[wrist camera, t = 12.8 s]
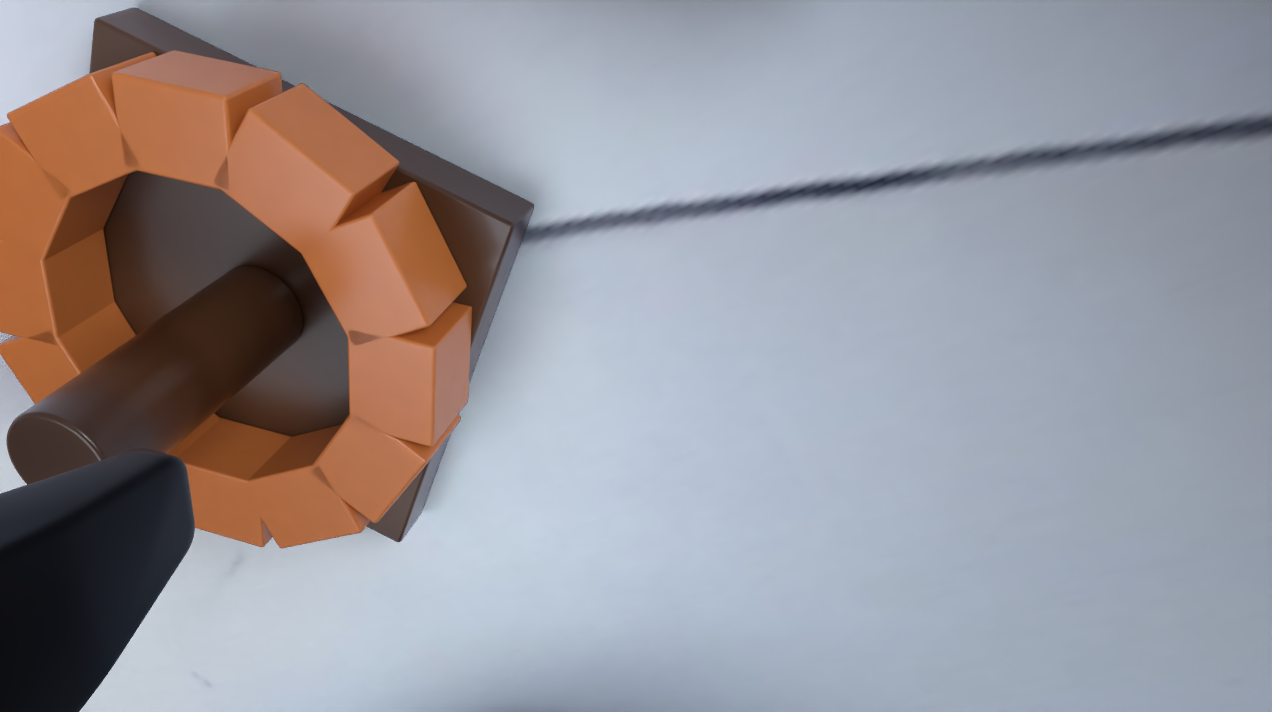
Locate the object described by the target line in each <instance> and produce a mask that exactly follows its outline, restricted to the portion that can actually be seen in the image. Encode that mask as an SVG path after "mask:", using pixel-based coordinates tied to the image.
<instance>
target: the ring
mask: <svg viewBox="0 0 1272 712" xmlns="http://www.w3.org/2000/svg"><path fill="white" fill-rule="evenodd" d="M7 118H8V119H9V121H10V122H9V123H7V124H4V125H1V126H0V332H3V333H6V334H10V335H13V336H11V337H10V338H8V339H6V340H5V341H3V342H1V343H0V354H1V356H2V357H3V359H4V360H5V362H6V363H7V365H8V366H9V367H10V369H11V370H12V372H13V373H14V375H15V376H16V377H17V379H18V380H19V382H20V383H21V385H22V386H23V388H24V389H25V390H26V392H27V393H28V395H29V396H30V398H31V399H32V400H33V402H34V403H35V404H37V403H38V402H40V401H41V400H43V399H44V398H45V397H47V396H48V395H50V394H51V393H53V392H54V391H56V390H57V389H59V388H60V387H61V386H63V385H64V384H66V383H67V382H69V381H70V380H72V379H73V378H75V377H76V376H77V375H79V374H80V373H82V372H83V371H85V370H86V369H88V368H89V367H90V366H92V365H93V364H95V363H96V362H98V361H99V360H101V359H102V358H104V357H105V356H106V355H108V354H109V353H111V352H112V351H114V350H115V349H117V348H118V347H120V346H121V345H122V344H124V343H125V342H127V341H128V340H130V339H131V338H133V337H134V336H135V335H136V334H135V332H134V331H133V329H132V328H131V326H130V325H129V323H128V321H127V320H126V318H125V317H124V315H123V314H122V312H121V310H120V309H119V307H118V306H117V304H116V303H115V300H114V294H113V287H112V281H111V274H110V268H109V261H108V255H107V248H106V242H105V235H104V229H103V228H104V226H105V224H106V221H107V219H108V217H109V215H110V213H111V211H112V208H113V206H114V204H115V202H116V200H117V198H118V195H119V193H120V191H121V189H122V187H123V185H124V182H125V180H126V178H127V176H128V174H130V173H132V172H135V171H141V172H146V173H150V174H154V175H159V176H163V177H167V178H172V179H176V180H180V181H185V182H189V183H193V184H198V185H202V186H206V187H211V188H215V189H219V190H222V191H223V192H224V193H225V194H227V195H228V196H229V197H230V198H232V199H233V200H234V201H235V202H237V203H238V204H239V205H241V206H242V207H243V208H244V209H246V210H247V211H248V212H249V213H251V214H252V215H253V216H254V217H256V218H257V219H258V220H260V221H261V222H262V223H263V224H265V225H266V226H267V227H268V228H270V229H271V230H272V231H273V232H275V233H276V234H277V235H278V236H280V237H281V238H282V239H284V240H285V241H286V242H287V243H289V244H290V245H291V246H292V247H294V248H295V249H296V250H297V251H299V252H300V253H301V254H302V256H303V258H304V259H305V261H306V263H307V265H308V267H309V268H310V270H311V272H312V274H313V276H314V277H315V279H316V281H317V283H318V285H319V287H320V288H321V290H322V292H323V294H324V296H325V297H326V299H327V301H328V303H329V305H330V306H331V308H332V310H333V312H334V314H335V315H336V317H337V319H338V321H339V323H340V325H341V326H342V328H343V330H344V332H345V334H346V335H347V338H348V377H349V415H348V417H347V418H346V419H345V421H344V422H343V423H342V424H341V425H337V426H333V427H329V428H325V429H321V430H317V431H313V432H309V433H305V434H301V435H297V436H293V437H291V436H287V435H283V434H280V433H276V432H272V431H269V430H265V429H261V428H258V427H254V426H250V425H246V424H243V423H239V422H235V421H232V420H228V419H224V418H221V417H219V416H218V415H216V414H215V413H213V414H212V415H211V416H210V417H209V418H208V419H206V420H205V421H204V422H203V423H202V424H201V425H200V426H198V427H197V428H196V429H195V430H194V431H193V432H191V433H190V434H189V435H188V436H187V437H186V438H185V439H183V440H182V441H181V442H180V443H179V444H178V445H176V446H175V447H174V448H173V449H172V450H171V451H169V452H168V453H167V454H171V455H175V456H177V457H178V458H180V459H182V461H183V462H184V464H185V465H186V468H187V471H188V478H189V485H190V492H191V499H192V506H193V512H194V519H195V528H198V529H201V530H205V531H208V532H212V533H215V534H218V535H222V536H225V537H229V538H232V539H235V540H239V541H242V542H246V543H249V544H253V545H256V546H259V547H264V546H265V545H266V544H267V543H268V541H269V540H270V539H271V538H272V537H273V538H274V540H275V541H276V543H277V544H278V546H279V547H280V548H286V547H291V546H296V545H301V544H306V543H311V542H316V541H321V540H326V539H331V538H336V537H341V536H346V535H351V534H356V533H360V532H362V531H363V530H364V528H365V527H366V526H367V524H368V523H369V522H370V521H371V522H373V523H376V522H379V520H380V519H381V518H382V517H383V516H384V514H385V513H386V512H387V511H388V510H389V508H390V507H391V506H392V505H393V504H394V502H395V501H396V500H397V499H398V498H399V497H400V495H401V494H402V493H403V492H404V491H405V489H406V488H407V487H408V486H409V485H410V483H411V482H412V481H413V480H414V479H415V478H416V476H417V475H418V474H419V473H420V472H421V470H422V469H423V468H424V467H425V466H426V464H427V463H428V462H429V461H430V459H431V458H432V457H433V455H434V454H435V453H436V451H437V450H438V449H439V448H440V446H441V445H442V444H443V442H444V441H445V440H446V438H447V437H448V436H449V435H450V433H451V432H452V431H453V429H454V428H455V427H456V425H457V424H458V423H459V422H460V418H461V417H460V415H458V414H459V412H460V411H461V410H462V408H463V407H464V406H465V405H466V403H467V402H468V392H469V369H470V346H471V324H472V307H471V306H468V305H463V304H459V303H455V302H453V301H454V300H455V299H456V298H457V297H458V296H459V295H460V294H461V293H462V291H463V290H464V289H465V288H466V287H467V284H466V282H465V280H464V278H463V276H462V274H461V272H460V270H459V268H458V266H457V264H456V262H455V260H454V258H453V256H452V254H451V252H450V250H449V248H448V246H447V244H446V242H445V240H444V238H443V236H442V234H441V232H440V230H439V228H438V226H437V224H436V222H435V220H434V218H433V216H432V214H431V212H430V210H429V208H428V206H427V204H426V201H425V199H424V197H423V195H422V193H421V191H420V189H419V187H418V185H417V183H416V182H410V183H407V184H404V185H401V186H398V187H396V188H393V189H390V190H387V191H385V192H382V190H383V189H384V187H385V186H386V184H387V182H388V181H389V179H390V178H391V176H392V175H393V173H394V172H395V170H396V169H397V167H398V165H399V161H398V160H397V159H396V158H395V157H393V156H392V155H391V154H390V153H389V152H387V151H386V150H385V149H384V148H382V147H381V146H380V145H379V144H377V143H376V142H375V141H374V140H373V139H371V138H370V137H369V136H368V135H366V134H365V133H364V132H363V131H361V130H360V129H359V128H358V127H357V126H355V125H354V124H353V123H352V122H350V121H349V120H348V119H347V118H346V117H344V116H343V115H342V114H341V113H339V112H338V111H337V110H336V109H334V108H333V107H332V106H331V105H330V104H328V103H327V102H326V101H325V100H323V99H322V98H321V97H320V96H318V95H317V94H316V93H315V92H314V91H312V90H311V89H310V88H309V87H307V86H306V85H305V84H303V83H301V84H299V85H297V86H295V87H293V88H291V89H289V90H287V91H285V92H283V93H282V77H281V73H279V72H276V71H272V70H267V69H262V68H257V67H252V66H248V65H243V64H238V63H233V62H228V61H224V60H219V59H214V58H209V57H204V56H200V55H195V54H190V53H185V52H180V51H176V50H173V51H170V52H167V53H165V54H162V55H159V56H156V54H155V53H154V52H149V53H147V54H144V55H141V56H138V57H135V58H132V59H130V60H127V61H124V62H121V63H118V64H115V65H113V66H110V67H107V68H104V69H101V70H98V71H96V72H93V73H90V74H88V75H86V76H83V77H81V78H79V79H77V80H75V81H73V82H71V83H69V84H67V85H65V86H63V87H61V88H59V89H57V90H55V91H53V92H50V93H48V94H46V95H44V96H42V97H40V98H38V99H36V100H34V101H32V102H30V103H28V104H26V105H24V106H22V107H20V108H18V109H15V110H13V111H11V112H9V113H8V114H7ZM381 192H382V193H381Z"/></svg>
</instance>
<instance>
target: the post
mask: <svg viewBox="0 0 1272 712" xmlns="http://www.w3.org/2000/svg"><path fill="white" fill-rule="evenodd" d="M173 50H176V51H180V52H185V53H190V54H195V55H200V56H204V57H209V58H214V59H219V60H224V61H228V62H233V63H238V64H243V65H248V66H252V67H255V66H253V65H251V64H249V63H247V62H245V61H243V60H241V59H239V58H237V57H235V56H233V55H231V54H229V53H227V52H225V51H223V50H221V49H219V48H217V47H215V46H213V45H211V44H209V43H207V42H205V41H203V40H201V39H199V38H196V37H194V36H192V35H190V34H188V33H186V32H184V31H182V30H180V29H178V28H176V27H174V26H172V25H170V24H168V23H166V22H164V21H162V20H160V19H158V18H156V17H154V16H152V15H150V14H148V13H146V12H144V11H142V10H140V9H138V8H129V9H126V10H123V11H119V12H116V13H112V14H109V15H105V16H102V17H99V18H96V19H95V21H94V31H93V42H92V53H91V64H90V73H93V72H96V71H98V70H101V69H104V68H107V67H110V66H113V65H115V64H118V63H121V62H124V61H127V60H130V59H132V58H135V57H138V56H141V55H144V54H147V53H149V52H154V53H155V54H156V56H159V55H162V54H165V53H167V52H170V51H173ZM293 87H295V86H294V85H292V84H290V83H288V82H286V81H284V80H282V93H283V92H285V91H287V90H289V89H291V88H293ZM327 103H328V102H327ZM328 104H330V103H328ZM330 105H331V106H332V107H333V108H334V109H336V110H337V111H338V112H339V113H341V114H342V115H343V116H344V117H346V118H347V119H348V120H349V121H350V122H352V123H353V124H354V125H355V126H357V127H358V128H359V129H360V130H361V131H363V132H364V133H365V134H366V135H368V136H369V137H370V138H371V139H373V140H374V141H375V142H376V143H377V144H379V145H380V146H381V147H382V148H384V149H385V150H386V151H387V152H389V153H390V154H391V155H392V156H393V157H395V158H396V159H397V160H398V161H399V165H398V167H397V169H396V170H395V172H394V173H393V175H392V176H391V178H390V179H389V181H388V182H387V184H386V186H385V187H384V189H383V190H382V192H385V191H387V190H390V189H393V188H396V187H398V186H401V185H404V184H407V183H410V182H416V183H417V185H418V187H419V189H420V191H421V193H422V195H423V197H424V199H425V201H426V204H427V206H428V208H429V210H430V212H431V214H432V216H433V218H434V220H435V222H436V224H437V226H438V228H439V230H440V232H441V234H442V236H443V238H444V240H445V242H446V244H447V246H448V248H449V250H450V252H451V254H452V256H453V258H454V260H455V262H456V264H457V266H458V268H459V270H460V272H461V274H462V276H463V278H464V280H465V282H466V284H467V287H466V288H465V289H464V290H463V291H462V293H461V294H460V295H459V296H458V297H457V298H456V299H455V300H454V301H453V302H455V303H459V304H463V305H468V306H471V307H472V324H471V346H470V369H469V382H470V380H471V377H472V374H473V372H474V369H475V366H476V363H477V361H478V358H479V355H480V353H481V350H482V347H483V344H484V342H485V339H486V336H487V334H488V331H489V328H490V325H491V323H492V320H493V317H494V315H495V312H496V309H497V307H498V304H499V301H500V298H501V296H502V293H503V290H504V288H505V285H506V282H507V279H508V277H509V274H510V271H511V269H512V266H513V263H514V260H515V258H516V255H517V252H518V250H519V247H520V244H521V241H522V239H523V236H524V233H525V231H526V228H527V225H528V222H529V220H530V217H531V214H532V212H533V209H534V204H533V203H531V202H529V201H527V200H525V199H523V198H521V197H519V196H517V195H515V194H513V193H511V192H509V191H507V190H505V189H503V188H501V187H499V186H497V185H495V184H493V183H491V182H489V181H487V180H485V179H483V178H481V177H478V176H476V175H474V174H472V173H470V172H468V171H466V170H464V169H462V168H460V167H458V166H456V165H454V164H452V163H450V162H448V161H446V160H444V159H442V158H440V157H438V156H436V155H434V154H432V153H430V152H428V151H426V150H424V149H422V148H420V147H418V146H416V145H414V144H412V143H410V142H407V141H405V140H403V139H401V138H399V137H397V136H395V135H393V134H391V133H389V132H387V131H385V130H383V129H381V128H379V127H377V126H375V125H373V124H371V123H369V122H367V121H365V120H363V119H361V118H359V117H357V116H355V115H353V114H351V113H349V112H347V111H345V110H343V109H341V108H339V107H336V106H334V105H332V104H330ZM382 192H381V193H382ZM103 229H104V235H105V242H106V248H107V255H108V261H109V268H110V274H111V281H112V287H113V294H114V300H115V303H116V304H117V306H118V307H119V309H120V310H121V312H122V314H123V315H124V317H125V318H126V320H127V321H128V323H129V325H130V326H131V328H132V329H133V331H134V332H135V334H136V335H135V336H134V337H133V338H131V339H130V340H128V341H127V342H125V343H124V344H122V345H121V346H120V347H118V348H117V349H115V350H114V351H112V352H111V353H109V354H108V355H106V356H105V357H104V358H102V359H101V360H99V361H98V362H96V363H95V364H93V365H92V366H90V367H89V368H88V369H86V370H85V371H83V372H82V373H80V374H79V375H77V376H76V377H75V378H73V379H72V380H70V381H69V382H67V383H66V384H64V385H63V386H61V387H60V388H59V389H57V390H56V391H54V392H53V393H51V394H50V395H48V396H47V397H45V398H44V399H43V400H41V401H40V402H38V403H37V404H35V405H34V406H32V407H31V408H30V409H28V410H27V411H25V412H24V413H22V414H21V415H19V416H18V417H17V418H16V419H15V420H14V421H13V422H12V424H11V426H10V428H9V430H8V433H7V448H8V453H9V456H10V459H11V461H12V463H13V465H14V467H15V469H16V470H17V472H18V473H19V475H20V476H21V478H22V479H23V480H24V481H25V483H26V484H27V485H28V484H31V483H34V482H37V481H40V480H43V479H46V478H49V477H52V476H55V475H58V474H61V473H64V472H67V471H70V470H73V469H76V468H79V467H82V466H85V465H88V464H91V463H94V462H97V461H100V460H103V459H106V458H109V457H112V456H115V455H118V454H121V453H124V452H127V451H130V450H133V449H137V448H147V449H152V450H156V451H159V452H163V453H168V452H169V451H171V450H172V449H173V448H174V447H175V446H176V445H178V444H179V443H180V442H181V441H182V440H183V439H185V438H186V437H187V436H188V435H189V434H190V433H191V432H193V431H194V430H195V429H196V428H197V427H198V426H200V425H201V424H202V423H203V422H204V421H205V420H206V419H208V418H209V417H210V416H211V415H212V414H213V413H215V414H216V415H218V416H219V417H221V418H224V419H228V420H232V421H235V422H239V423H243V424H246V425H250V426H254V427H258V428H261V429H265V430H269V431H272V432H276V433H280V434H283V435H287V436H291V437H293V436H297V435H301V434H305V433H309V432H313V431H317V430H321V429H325V428H329V427H333V426H337V425H341V424H342V423H343V422H344V421H345V419H346V418H347V417H348V415H349V377H348V338H347V335H346V334H345V332H344V330H343V328H342V326H341V325H340V323H339V321H338V319H337V317H336V315H335V314H334V312H333V310H332V308H331V306H330V305H329V303H328V301H327V299H326V297H325V296H324V294H323V292H322V290H321V288H320V287H319V285H318V283H317V281H316V279H315V277H314V276H313V274H312V272H311V270H310V268H309V267H308V265H307V263H306V261H305V259H304V258H303V256H302V254H301V253H300V252H299V251H297V250H296V249H295V248H294V247H292V246H291V245H290V244H289V243H287V242H286V241H285V240H284V239H282V238H281V237H280V236H278V235H277V234H276V233H275V232H273V231H272V230H271V229H270V228H268V227H267V226H266V225H265V224H263V223H262V222H261V221H260V220H258V219H257V218H256V217H254V216H253V215H252V214H251V213H249V212H248V211H247V210H246V209H244V208H243V207H242V206H241V205H239V204H238V203H237V202H235V201H234V200H233V199H232V198H230V197H229V196H228V195H227V194H225V193H224V192H223V191H222V190H219V189H215V188H211V187H206V186H202V185H198V184H193V183H189V182H185V181H180V180H176V179H172V178H167V177H163V176H159V175H154V174H150V173H146V172H141V171H135V172H132V173H130V174H128V176H127V178H126V180H125V182H124V185H123V187H122V189H121V191H120V193H119V195H118V198H117V200H116V202H115V204H114V206H113V208H112V211H111V213H110V215H109V217H108V219H107V221H106V224H105V226H104V228H103ZM450 434H451V433H450ZM449 437H450V435H449V436H448V437H447V438H446V440H445V441H444V442H443V444H442V445H441V446H440V448H439V449H438V450H437V451H436V453H435V454H434V455H433V457H432V458H431V459H430V461H429V462H428V463H427V464H426V466H425V467H424V468H423V469H422V470H421V472H420V473H419V474H418V475H417V476H416V478H415V479H414V480H413V481H412V482H411V483H410V485H409V486H408V487H407V488H406V489H405V491H404V492H403V493H402V494H401V495H400V497H399V498H398V499H397V500H396V501H395V502H394V504H393V505H392V506H391V507H390V508H389V510H388V511H387V512H386V513H385V514H384V516H383V517H382V518H381V519H380V520H379V522H376V523H373V522H371V521H370V522H369V523H368V524H367V527H369V528H371V529H373V530H375V531H377V532H378V533H380V534H382V535H384V536H386V537H388V538H390V539H392V540H394V541H396V542H400V541H402V539H403V538H404V537H405V535H406V534H407V533H408V531H409V530H410V528H411V527H412V526H413V524H414V523H415V521H416V520H417V519H418V517H419V516H420V515H421V513H422V510H423V507H424V504H425V502H426V499H427V496H428V494H429V491H430V488H431V485H432V483H433V480H434V477H435V475H436V472H437V469H438V466H439V464H440V461H441V458H442V456H443V453H444V450H445V448H446V445H447V442H448V439H449Z"/></svg>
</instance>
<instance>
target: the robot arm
mask: <svg viewBox="0 0 1272 712" xmlns="http://www.w3.org/2000/svg"><path fill="white" fill-rule="evenodd" d="M194 530H195V519H194V512H193V506H192V499H191V492H190V485H189V478H188V471H187V468H186V465H185V464H184V462H183V461H182V459H180V458H178V457H177V456H175V455H171V454H167V453H163V452H159V451H156V450H152V449H147V448H137V449H133V450H130V451H127V452H124V453H121V454H118V455H115V456H112V457H109V458H106V459H103V460H100V461H97V462H94V463H91V464H88V465H85V466H82V467H79V468H76V469H73V470H70V471H67V472H64V473H61V474H58V475H55V476H52V477H49V478H46V479H43V480H40V481H37V482H34V483H31V484H28V485H25V486H22V487H19V488H16V489H13V490H10V491H7V492H4V493H1V494H0V712H79V711H80V710H81V709H82V707H83V706H84V705H85V703H86V702H87V701H88V700H89V698H90V697H91V696H92V694H93V693H94V692H95V690H96V689H97V688H98V686H99V685H100V684H101V682H102V681H103V680H104V678H105V677H106V675H107V674H108V672H109V671H110V669H111V668H112V667H113V665H114V664H115V662H116V661H117V659H118V658H119V656H120V655H121V653H122V652H123V650H124V649H125V647H126V645H127V644H128V642H129V641H130V639H131V638H132V636H133V635H134V633H135V632H136V630H137V628H138V627H139V625H140V624H141V622H142V621H143V619H144V618H145V616H146V615H147V613H148V612H149V610H150V608H151V607H152V605H153V604H154V602H155V601H156V599H157V598H158V596H159V595H160V593H161V591H162V590H163V588H164V587H165V585H166V584H167V582H168V581H169V579H170V578H171V576H172V574H173V573H174V571H175V570H176V568H177V567H178V565H179V564H180V562H181V561H182V559H183V558H184V556H185V554H186V553H187V551H188V549H189V547H190V545H191V543H192V540H193V536H194Z"/></svg>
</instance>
